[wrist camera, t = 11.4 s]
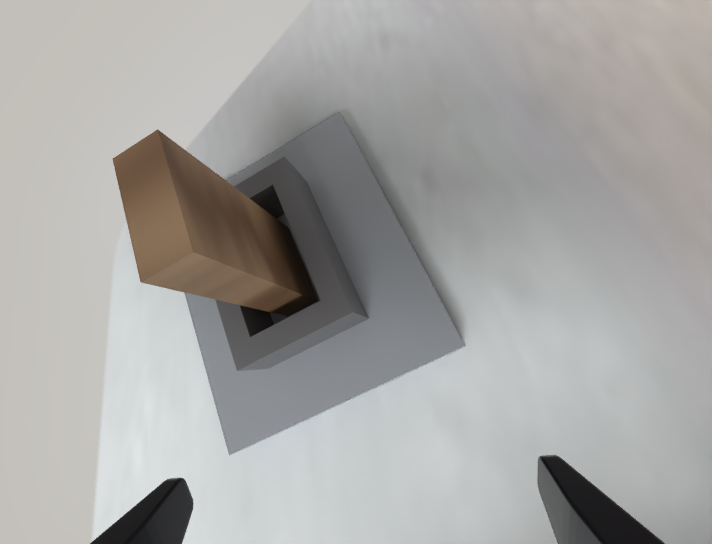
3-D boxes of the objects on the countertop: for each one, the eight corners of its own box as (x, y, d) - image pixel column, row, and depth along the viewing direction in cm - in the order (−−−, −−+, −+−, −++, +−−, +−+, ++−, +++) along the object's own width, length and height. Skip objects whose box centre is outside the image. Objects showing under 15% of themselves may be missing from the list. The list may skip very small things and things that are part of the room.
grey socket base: (464, 346, 19) (465, 343, 14) (244, 448, 21) (190, 471, 17) (346, 125, 24) (322, 76, 20) (180, 225, 26) (125, 200, 22)
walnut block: (318, 300, 20) (193, 251, 11) (288, 316, 20) (140, 282, 11) (288, 227, 22) (157, 129, 12) (261, 243, 22) (112, 158, 12)
